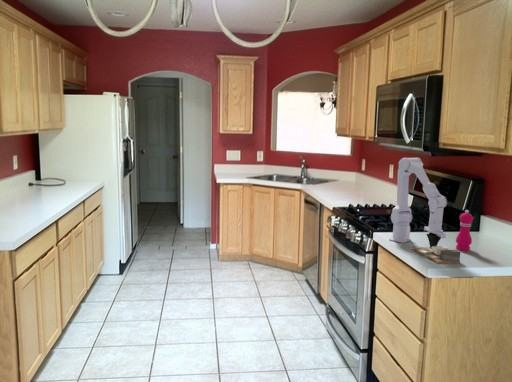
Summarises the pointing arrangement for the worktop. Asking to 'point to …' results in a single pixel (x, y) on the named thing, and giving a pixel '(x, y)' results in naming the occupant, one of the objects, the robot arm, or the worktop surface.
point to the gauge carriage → (437, 250)
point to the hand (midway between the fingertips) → (432, 248)
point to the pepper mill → (464, 232)
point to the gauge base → (444, 256)
